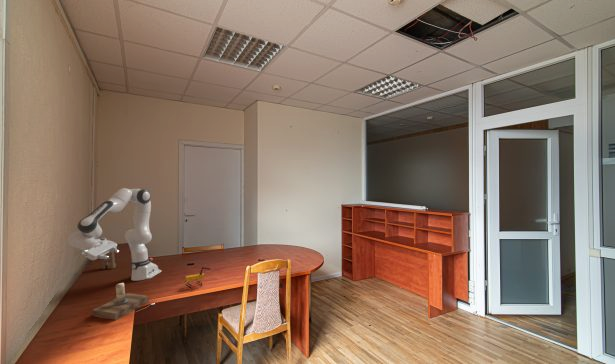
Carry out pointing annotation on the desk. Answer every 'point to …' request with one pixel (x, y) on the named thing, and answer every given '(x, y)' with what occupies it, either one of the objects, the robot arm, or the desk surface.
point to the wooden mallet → (105, 261)
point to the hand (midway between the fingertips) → (112, 254)
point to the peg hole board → (120, 307)
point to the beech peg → (120, 295)
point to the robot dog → (195, 277)
